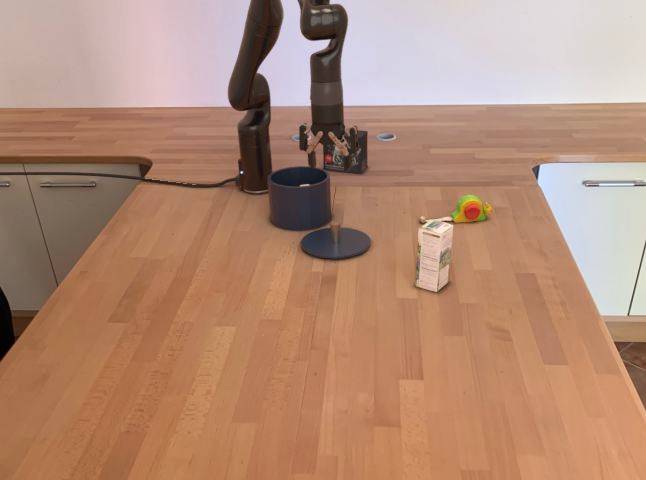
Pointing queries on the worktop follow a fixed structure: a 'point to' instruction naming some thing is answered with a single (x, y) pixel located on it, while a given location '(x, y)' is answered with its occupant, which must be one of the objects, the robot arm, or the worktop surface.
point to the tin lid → (335, 242)
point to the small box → (335, 155)
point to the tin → (299, 198)
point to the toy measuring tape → (466, 211)
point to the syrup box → (433, 255)
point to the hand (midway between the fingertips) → (329, 168)
